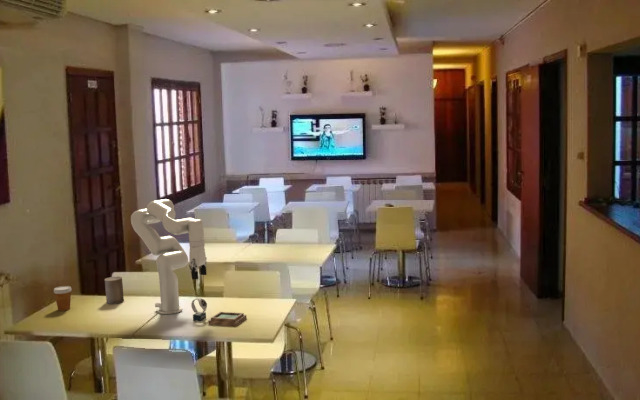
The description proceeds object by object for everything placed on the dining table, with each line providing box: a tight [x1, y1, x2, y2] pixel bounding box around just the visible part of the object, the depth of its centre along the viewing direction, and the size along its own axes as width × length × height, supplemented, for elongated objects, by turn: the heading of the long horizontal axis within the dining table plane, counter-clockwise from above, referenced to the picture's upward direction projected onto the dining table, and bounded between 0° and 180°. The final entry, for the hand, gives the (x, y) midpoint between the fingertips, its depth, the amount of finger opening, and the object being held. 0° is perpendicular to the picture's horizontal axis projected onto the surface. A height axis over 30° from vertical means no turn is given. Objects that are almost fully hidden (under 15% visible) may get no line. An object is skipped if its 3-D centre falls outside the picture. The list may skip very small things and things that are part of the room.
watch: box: [190, 297, 208, 322], centre depth 376 cm, size 6×8×11 cm
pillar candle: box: [104, 276, 125, 305], centre depth 418 cm, size 10×10×15 cm
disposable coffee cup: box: [53, 285, 72, 312], centre depth 406 cm, size 10×10×12 cm
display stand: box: [207, 311, 247, 327], centre depth 371 cm, size 15×13×3 cm
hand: (199, 276), depth 375 cm, fingers open, 9 cm apart
